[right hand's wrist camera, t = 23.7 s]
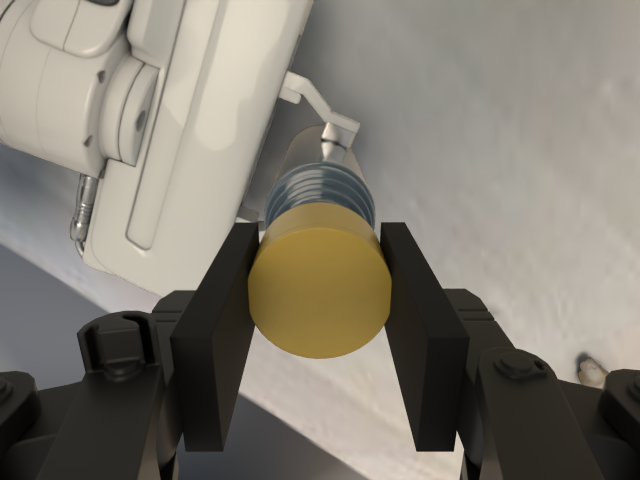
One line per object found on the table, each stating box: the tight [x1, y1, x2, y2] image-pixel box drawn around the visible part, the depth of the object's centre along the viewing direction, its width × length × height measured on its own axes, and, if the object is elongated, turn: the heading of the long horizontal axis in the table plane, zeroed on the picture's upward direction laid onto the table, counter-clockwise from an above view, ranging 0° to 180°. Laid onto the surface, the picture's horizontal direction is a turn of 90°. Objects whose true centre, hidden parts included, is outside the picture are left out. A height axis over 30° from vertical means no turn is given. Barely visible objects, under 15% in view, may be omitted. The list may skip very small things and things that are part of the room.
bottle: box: [265, 125, 375, 231], centre depth 22 cm, size 5×5×20 cm
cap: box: [248, 202, 392, 359], centre depth 13 cm, size 4×4×2 cm
